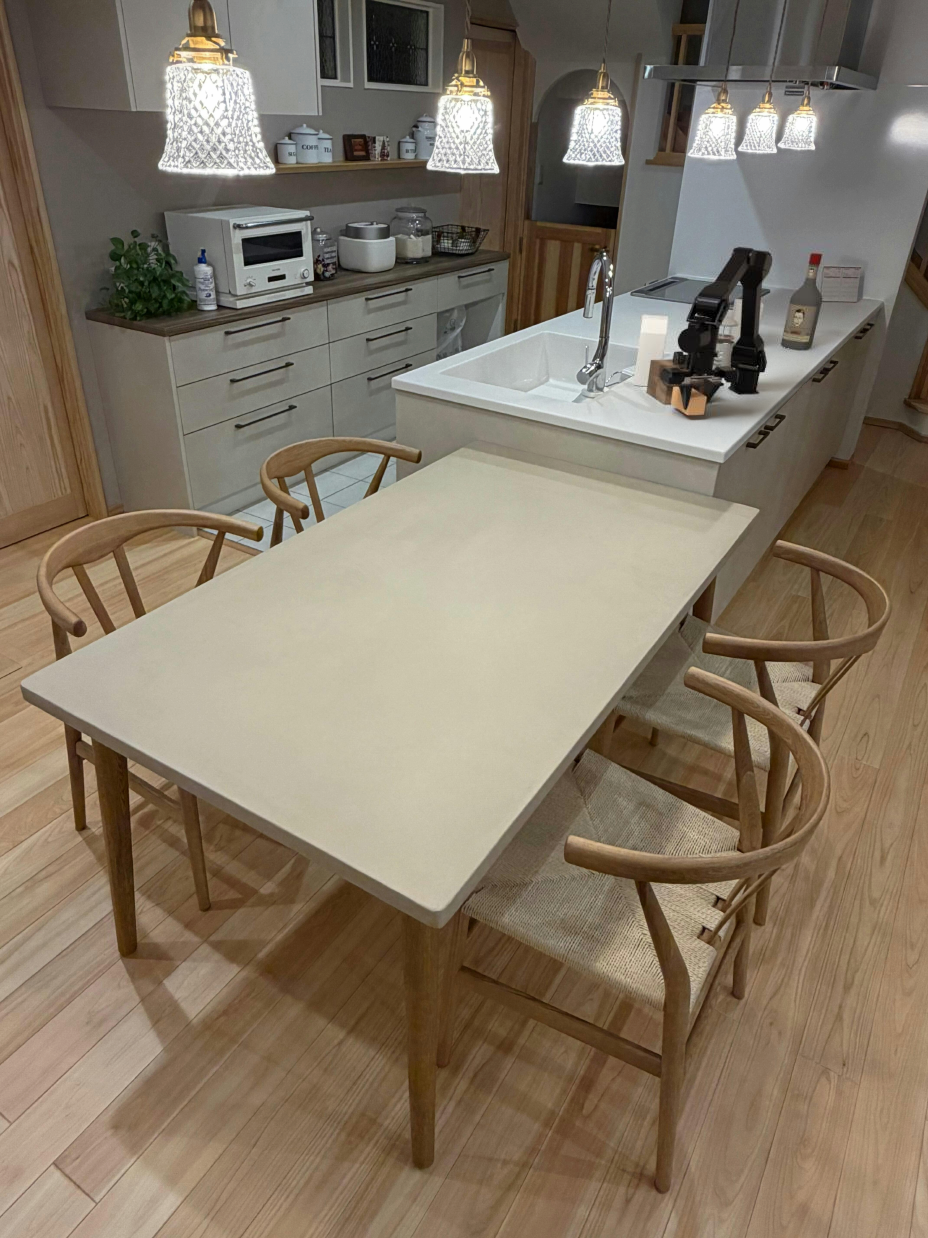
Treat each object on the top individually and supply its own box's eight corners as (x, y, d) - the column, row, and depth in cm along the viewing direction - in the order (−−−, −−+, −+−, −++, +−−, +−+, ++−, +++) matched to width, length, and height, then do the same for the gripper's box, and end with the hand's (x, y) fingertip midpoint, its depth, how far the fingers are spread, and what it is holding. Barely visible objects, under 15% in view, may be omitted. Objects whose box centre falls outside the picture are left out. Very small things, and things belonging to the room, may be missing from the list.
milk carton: (658, 387, 241) (668, 318, 232) (633, 385, 242) (642, 316, 233) (658, 381, 247) (668, 313, 238) (634, 379, 248) (643, 312, 239)
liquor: (786, 342, 298) (806, 251, 283) (812, 346, 294) (834, 253, 279) (778, 347, 292) (798, 253, 277) (805, 351, 288) (826, 256, 272)
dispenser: (692, 390, 239) (698, 358, 235) (713, 403, 228) (719, 370, 224) (644, 392, 236) (649, 359, 232) (664, 405, 225) (669, 371, 221)
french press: (715, 373, 258) (731, 286, 245) (690, 364, 267) (704, 280, 254) (739, 370, 262) (756, 284, 249) (714, 361, 271) (728, 278, 258)
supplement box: (755, 350, 286) (764, 304, 279) (728, 348, 288) (736, 302, 280) (752, 345, 294) (761, 299, 286) (726, 343, 295) (734, 298, 288)
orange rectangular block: (686, 403, 223) (689, 386, 220) (703, 414, 214) (706, 396, 212) (670, 403, 222) (673, 386, 219) (687, 415, 213) (690, 397, 211)
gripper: (723, 338, 215) (712, 398, 223) (655, 339, 211) (647, 401, 219) (745, 348, 206) (733, 411, 214) (674, 349, 202) (664, 414, 210)
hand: (693, 409), depth 214 cm, fingers closed on orange rectangular block, 4 cm apart
